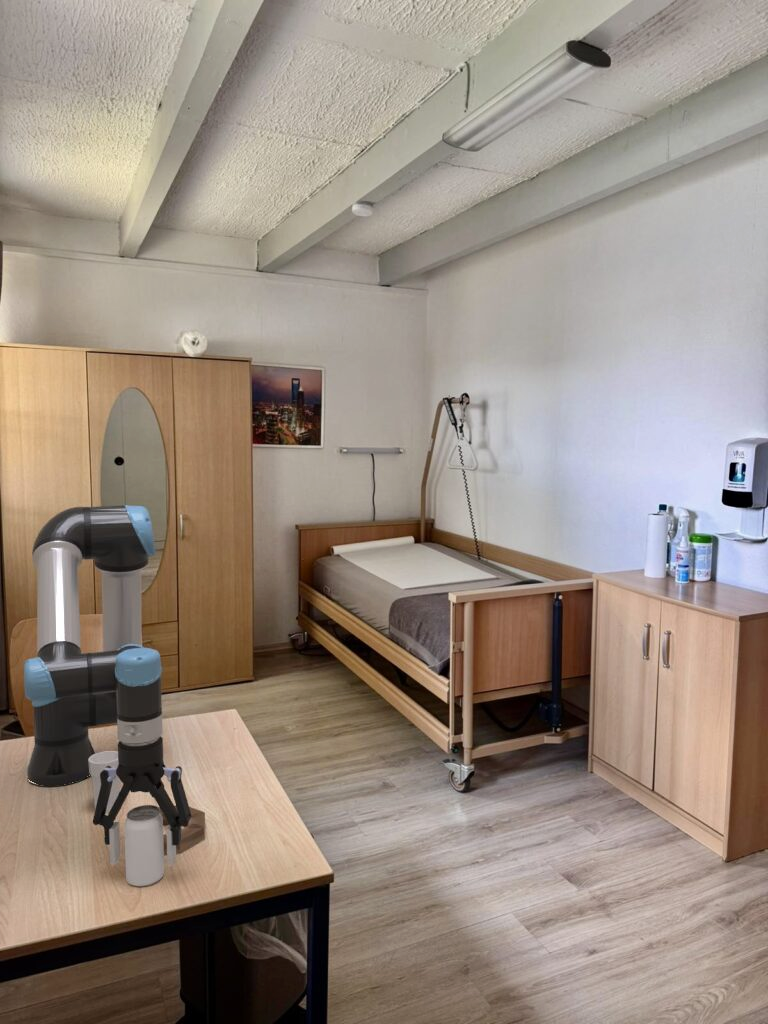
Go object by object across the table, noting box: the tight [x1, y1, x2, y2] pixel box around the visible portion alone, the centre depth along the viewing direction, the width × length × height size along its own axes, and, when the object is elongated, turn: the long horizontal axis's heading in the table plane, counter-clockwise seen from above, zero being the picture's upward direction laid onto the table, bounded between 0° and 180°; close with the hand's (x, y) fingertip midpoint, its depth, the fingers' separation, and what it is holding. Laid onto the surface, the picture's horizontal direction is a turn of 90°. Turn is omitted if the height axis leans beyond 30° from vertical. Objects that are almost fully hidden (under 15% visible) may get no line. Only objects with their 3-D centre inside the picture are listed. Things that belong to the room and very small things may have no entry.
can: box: [124, 804, 165, 888], centre depth 130 cm, size 6×6×12 cm
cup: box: [88, 750, 121, 813], centre depth 156 cm, size 7×7×11 cm
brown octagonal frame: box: [158, 805, 206, 856], centre depth 145 cm, size 14×14×2 cm
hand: (143, 861), depth 130 cm, fingers open, 9 cm apart
